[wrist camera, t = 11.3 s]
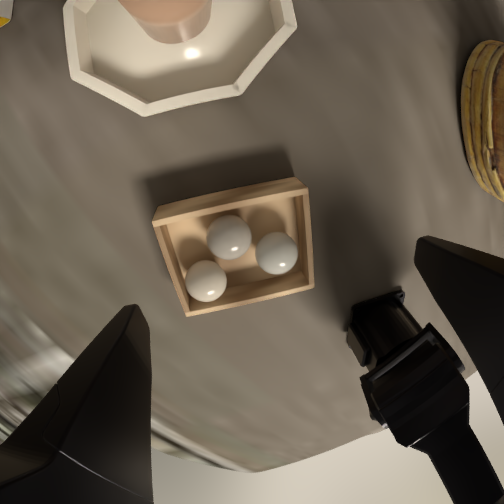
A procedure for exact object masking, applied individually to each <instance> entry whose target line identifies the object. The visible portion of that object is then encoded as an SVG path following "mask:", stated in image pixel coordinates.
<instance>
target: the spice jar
mask: <svg viewBox="0 0 504 504" xmlns="http://www.w3.org/2000/svg"><path fill="white" fill-rule="evenodd" d="M118 1H119V2H120V3H121V5H122V6H123V7H124V8H125V9H126V10H127V11H128V12H129V14H130V15H131V16H132V17H133V18H134V19H135V21H136V22H137V23H138V24H139V25H140V26H141V27H142V29H143V30H144V31H145V32H146V33H147V35H148V36H149V37H151V38H152V39H154V40H155V41H158V42H161V43H165V44H177V43H182V42H186V41H188V40H190V39H193V38H194V37H196V36H197V35H199V34H200V33H201V32H202V31H203V30H204V29H205V27H206V26H207V24H208V22H209V20H210V17H211V8H212V0H118Z"/></svg>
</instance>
